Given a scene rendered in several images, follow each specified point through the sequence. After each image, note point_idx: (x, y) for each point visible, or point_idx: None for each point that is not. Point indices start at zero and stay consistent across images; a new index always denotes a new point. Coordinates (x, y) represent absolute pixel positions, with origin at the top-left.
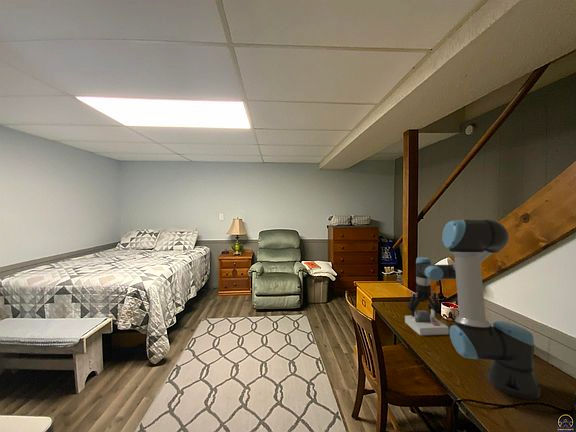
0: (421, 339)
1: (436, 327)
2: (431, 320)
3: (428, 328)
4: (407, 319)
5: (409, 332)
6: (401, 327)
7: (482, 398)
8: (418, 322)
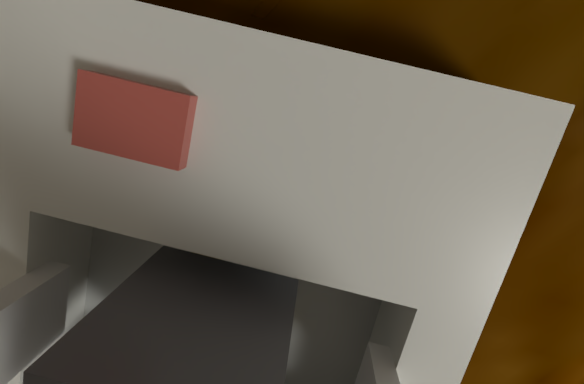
0: (576, 5)
1: (216, 27)
2: None
3: (391, 61)
4: None
5: (553, 231)
6: (531, 370)
7: None
8: None
